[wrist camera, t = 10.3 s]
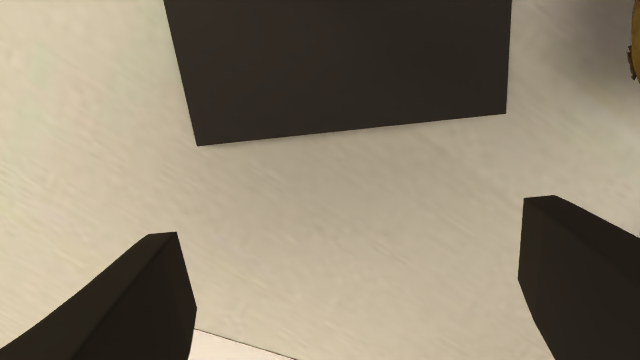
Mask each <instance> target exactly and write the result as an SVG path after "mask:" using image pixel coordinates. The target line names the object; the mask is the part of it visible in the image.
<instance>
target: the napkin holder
mask: <svg viewBox="0 0 640 360" xmlns="http://www.w3.org/2000/svg"><path fill="white" fill-rule="evenodd" d="M188 360H294V359H291V358H287V357H284V356H281V355H277V354H274V353H271V352H268V351H264V350H261V349H258V348H255V347H251V346H248V345H245V344H241V343H238V342H235V341H232V340H228V339H225V338H222V337H218V336H215V335H212V334H209V333H205V332H202V331H199V330H195V329H194V333H193V339H192V344H191V350H190V354H189V358H188Z"/></svg>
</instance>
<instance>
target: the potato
mask: <svg viewBox="0 0 640 360" xmlns="http://www.w3.org/2000/svg"><path fill="white" fill-rule="evenodd" d="M628 48H629V52H628V53H627V57H628V61H629V64H630V70H631V73H632V77H631V78H632V79H633V80H635V79H636V77H637V79H638V81H639V83H640V0H635V3H634V8H633V15H632V45H631V46H628Z"/></svg>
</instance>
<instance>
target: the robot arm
mask: <svg viewBox="0 0 640 360" xmlns="http://www.w3.org/2000/svg"><path fill="white" fill-rule="evenodd" d="M518 281H519V284H520V286H521V289H522V292H523V294H524V297H525V300H526V302H527V305H528V307H529V310H530V312H531V315H532V317H533V320H534V322H535V324H536V326H537V327H538V329H539V331H540V333H541V335H542V337H543V338H544V340H545V342H546V344H547V346H548V347H549V349H550V351H551V353H552V355H553V356H554V358H555V360H640V238H638V237H636V236H634V235H632V234H630V233H629V232H627V231H625V230H623V229H621V228H619V227H617V226H615V225H613V224H611V223H609V222H607V221H606V220H604V219H602V218H600V217H598V216H596V215H594V214H592V213H590V212H588V211H587V210H585V209H583V208H581V207H579V206H577V205H575V204H573V203H571V202H569V201H567V200H565V199H562V198H560V197H558V196H555V195H550V196H540V197H530V198H524V204H523V217H522V230H521V243H520V257H519V270H518ZM196 312H197V306H196V303H195V299H194V295H193V291H192V288H191V284H190V280H189V276H188V273H187V269H186V265H185V261H184V258H183V254H182V250H181V246H180V243H179V239H178V235H177V232H167V233H156V234H148V235H146V236H145V237H144V238H142V239H141V240H139V241H138V242H137V243H136V244H134V245H133V246H132V247H131V248H130V249H128V250H127V251H126V252H125V253H124V254H123V255H121V256H120V257H119V258H118V259H117V260H115V261H114V262H113V263H112V264H111V265H110V266H108V267H107V268H106V269H105V270H104V271H103V272H101V273H100V274H99V275H98V276H97V277H95V278H94V279H93V280H92V281H91V282H90V283H88V284H87V285H86V286H85V287H84V288H82V289H81V290H80V291H79V292H77V293H76V294H75V295H74V296H72V297H71V298H70V299H68V300H67V301H66V302H65V303H63V304H62V305H61V306H59V307H58V308H57V309H56V310H54V311H53V312H52V313H50V314H49V315H48V316H47V317H45V318H44V319H43V320H41V321H40V322H39V323H37V324H36V325H35V326H33V327H32V328H30V329H29V330H28V331H26V332H25V333H23V334H22V335H21V336H19V337H18V338H16V339H15V340H13V341H12V342H10V343H9V344H7V345H6V346H4V347H3V348H1V349H0V360H188V358H189V354H190V350H191V344H192V339H193V333H194V326H195V319H196Z"/></svg>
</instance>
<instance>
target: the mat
mask: <svg viewBox="0 0 640 360" xmlns="http://www.w3.org/2000/svg"><path fill="white" fill-rule="evenodd" d="M163 1H164V5H165V9H166V14H167V18H168V22H169V27H170V31H171V35H172V40H173V44H174V48H175V53H176V57H177V61H178V66H179V70H180V74H181V79H182V83H183V87H184V92H185V96H186V101H187V105H188V109H189V114H190V118H191V122H192V127H193V131H194V135H195V140H196V144H197V146H204V145H213V144H223V143H232V142H242V141H251V140H261V139H270V138H280V137H289V136H299V135H308V134H318V133H327V132H337V131H346V130H356V129H365V128H374V127H384V126H393V125H403V124H412V123H422V122H431V121H441V120H450V119H460V118H469V117H479V116H488V115H498V114H506V102H507V83H508V63H509V44H510V25H511V5H512V0H163Z"/></svg>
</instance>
